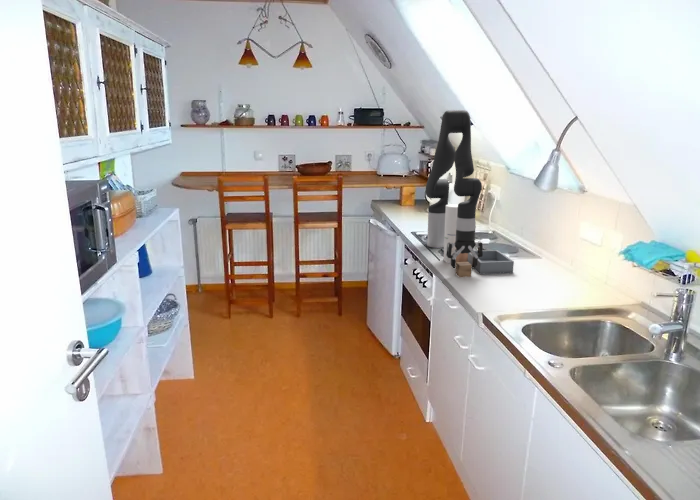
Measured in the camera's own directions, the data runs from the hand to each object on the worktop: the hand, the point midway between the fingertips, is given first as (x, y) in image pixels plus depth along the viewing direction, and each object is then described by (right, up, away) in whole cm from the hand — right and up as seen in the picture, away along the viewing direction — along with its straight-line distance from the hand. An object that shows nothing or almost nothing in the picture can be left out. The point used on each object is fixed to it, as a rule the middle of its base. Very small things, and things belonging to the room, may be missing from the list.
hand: (463, 267), depth 201 cm
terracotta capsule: (+1, -1, +10) cm, 10 cm away
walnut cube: (0, -3, +1) cm, 4 cm away
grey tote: (+13, 0, +11) cm, 17 cm away
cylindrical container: (-1, +2, +21) cm, 21 cm away
